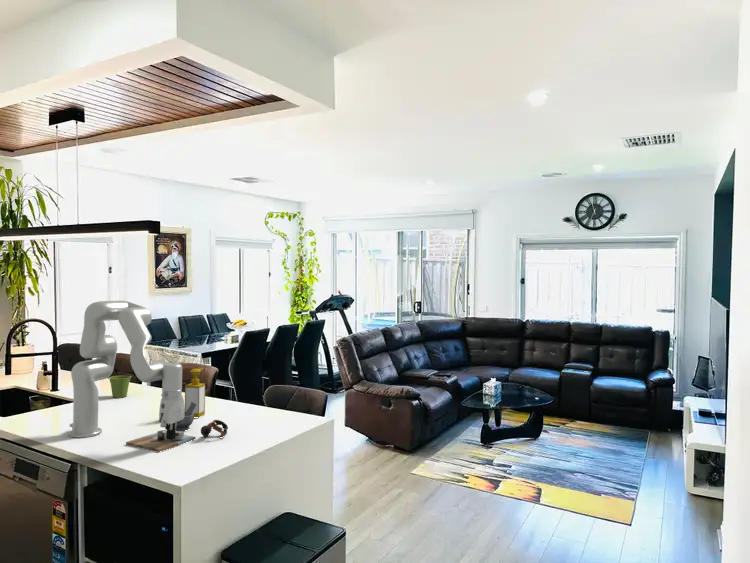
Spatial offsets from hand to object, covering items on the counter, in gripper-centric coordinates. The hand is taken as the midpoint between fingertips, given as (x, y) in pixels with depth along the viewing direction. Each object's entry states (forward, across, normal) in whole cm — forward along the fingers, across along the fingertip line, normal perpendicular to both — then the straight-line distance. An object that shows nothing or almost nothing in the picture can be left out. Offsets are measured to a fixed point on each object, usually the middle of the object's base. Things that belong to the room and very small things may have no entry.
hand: (170, 438), depth 216 cm
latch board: (+3, +1, +6) cm, 6 cm away
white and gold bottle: (+3, +43, +23) cm, 49 cm away
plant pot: (+3, +56, +90) cm, 105 cm away
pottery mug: (+3, +16, -9) cm, 18 cm away
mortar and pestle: (+3, +20, +11) cm, 23 cm away
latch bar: (+1, +2, +2) cm, 3 cm away
